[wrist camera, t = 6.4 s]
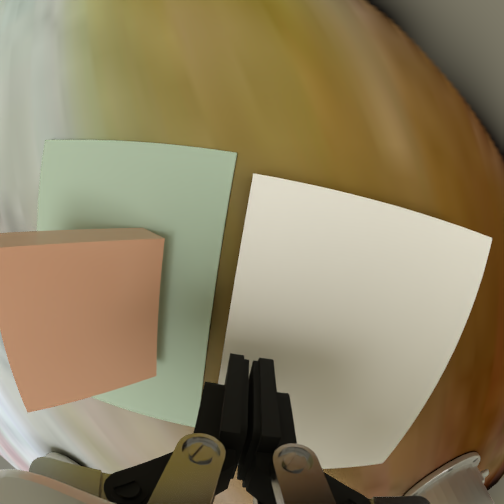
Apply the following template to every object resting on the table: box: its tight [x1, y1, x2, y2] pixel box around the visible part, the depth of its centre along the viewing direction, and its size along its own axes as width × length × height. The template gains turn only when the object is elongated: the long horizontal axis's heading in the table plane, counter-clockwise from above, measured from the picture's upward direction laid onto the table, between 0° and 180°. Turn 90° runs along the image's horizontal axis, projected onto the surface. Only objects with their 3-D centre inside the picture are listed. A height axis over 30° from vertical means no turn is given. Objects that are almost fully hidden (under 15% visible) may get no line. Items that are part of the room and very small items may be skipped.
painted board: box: [218, 173, 492, 469], centre depth 14 cm, size 12×16×4 cm
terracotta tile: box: [0, 228, 165, 412], centre depth 11 cm, size 8×8×2 cm
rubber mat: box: [37, 140, 237, 427], centre depth 15 cm, size 12×18×1 cm, turn 170°
